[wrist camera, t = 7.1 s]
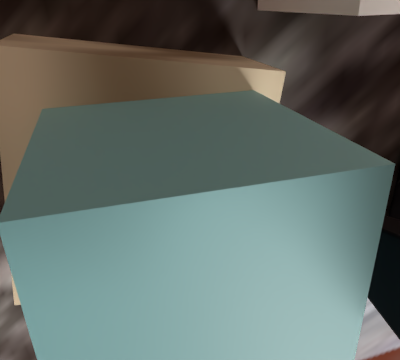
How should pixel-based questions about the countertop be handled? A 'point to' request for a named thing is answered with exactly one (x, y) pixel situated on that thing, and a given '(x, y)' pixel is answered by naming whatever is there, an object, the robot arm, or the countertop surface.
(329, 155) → the teal cube
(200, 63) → the maple block
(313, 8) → the offwhite cube
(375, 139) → the countertop surface
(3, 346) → the countertop surface
